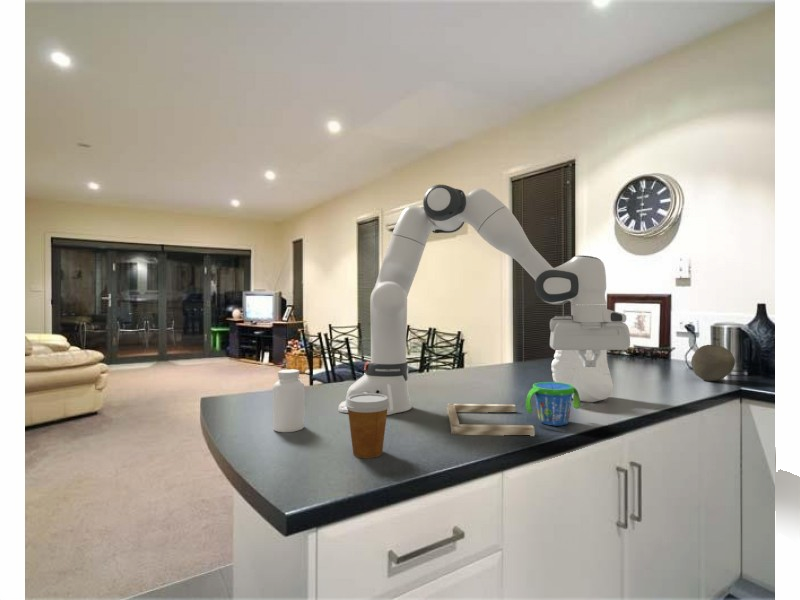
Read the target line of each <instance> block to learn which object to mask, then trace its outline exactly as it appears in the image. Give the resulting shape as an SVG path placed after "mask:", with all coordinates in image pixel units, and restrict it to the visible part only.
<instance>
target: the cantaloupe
mask: <svg viewBox="0 0 800 600" xmlns="http://www.w3.org/2000/svg"><path fill="white" fill-rule="evenodd" d="M690 362H691V364H690V365H691V367H692V371H693V373H694V374H695V375H696V377H698V378H699V379H702V380H704V381H706V382H716V381H720V380H722V379H724V378H726V377H727V376H728V375H729V374H731V373H732V371H733V370H734V368H735V365H736V359H735V357H734V354H733V353H732V352H731V351H730V350H729V349H727V348H726V347H724V346H722V345H717V344H705V345H702V346H700V347H699V348H697V349H696V350H695V352H694V353H693V355H692V357H691V361H690Z"/></svg>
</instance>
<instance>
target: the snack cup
mask: <svg viewBox="0 0 800 600" xmlns="http://www.w3.org/2000/svg"><path fill="white" fill-rule="evenodd" d="M572 394H573V398H572ZM533 396H534V397H535V406H536V410H537V411H536V412H537V417H538V420H539V422H540V423H541V424H544V425H548V426H551V425H553V426H552V427H559V426H561V427H562V426H565V425H568V423H569V420H570V413H571V406H572V407H573V409H574V408H575V409H576V410H577V409H580V407H581V401H580V398H579V394H578V391H577V390H576V389H575V388H574V387H573V386H572V385H569V384H565V383H558V382H554V381H540V382H534V383H533V384H532V388H530V390H529V391H528V393H527V395H526V400H525V409H526V411H527V412H528V413H533V408H532V407H533V406H532V401H531V400H532V397H533ZM572 400H573V401H572Z"/></svg>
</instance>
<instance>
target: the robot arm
mask: <svg viewBox="0 0 800 600" xmlns="http://www.w3.org/2000/svg"><path fill="white" fill-rule="evenodd" d="M422 201H423V203H422V205H423V206H415V205H412V206H411V205H410V206H406V208H404V209H403V210H402V212H401V214H400V215H399V217H398V219H397V222H396V223H395V225H394V228H393V231H392V233H391V236H390V240H389V241H388V244H387V245H388V246H387V248H386V250H385V253H384V257H383V260H382V263H381V267H380V269H379V272H378V276H377V278H376V282H375V285H374V287H373V289H372V291H371V293H370V297H369V299H370V301H369V303H370V304H369V305H370V306H369V310H370V311H369V312H370V318H369V319H370V361H366V362H365V363H364V365H363V367H364V369H363V371H364V372H363V373H364V374H363V375H362V376H360V378H358V379H357V380H356V381H355V382H353V383H352V384H351V385H350V386H349V387H348V390H347V392H346V395H345V400H343V401H342V402H339V405H338V408H337V409H338V411H339V412H340V413H344V414H345V413H346V414H347V413H348V409H347V406H346V403H347V400H348V397H350V396H352V395H357V394H381V395H385V396H387V398H388V402H389V403H390V404H389V407H388V409H387V416H391V415H393V414H396V413H397V414H398V413H402V412H407V411H409V410H411V409H412V408H413V406H412V404H411V400H410V394H409V387H408V379H409V365H408V361H407V326H408V324H407V323H408V320H407V319H408V296H409V293H410V290H411V287H412V284H413V282H414V279H415V278H416V277H415V276H416V274H417V271H418V268H419V265H420V263H421V260H422V257H423V253H424V250H425V247H426V245H427V241H428V239H429V237H430V235H431V233H434V234H452V233H456V232H458V231H459V230H461V229H462V228H463V226H464V224H465V223H467V224H468V225H470V226H471V227H472V228H473V229H474V231H476V233H478V235H479V236H480V237H481V238H482V239H483V240H484V241H485V242H486V243H487V244H489V245H490V246H492V247H493V248H494V249H495V250H498V251H499V252H502V253H503V254H505V255H508V256H509V257H511V259H514V260H515V261H516V262H517V263H518V264H519V265H520V266H521V267H522V268H523V269H524V270H525V271H526V272H527V273H528V274H529V276H530V277H532V278H533V280H534V281H535V282H534V291H535V293H536V296H537V297H538V298H539V299H540V300H541V301H543V302H545V303H547V304H550V305H553V306H554V305H555V306H562V305H565V304H566V303H569V302H570V315H555V316H554V317H552V318H551V319H550V320H549V330H550V337H549V347H550V348H551V349H552V350H554V351H556V350H578V354H579V355H580V357H581V358H582V360H583V366H584V367H596V360H597V359H598V357H599V356H600V350H607V351H627V350H629V348H630V347H631V337H630V335H631V333H630V329H629V326H628V324H626V321H627V315H626V314H625V313H622V312H618V311H615V310H612V309H608V308H607V306H608V305H607V300H606V290H607V275H606V274H607V273H606V267H605V264H604V262H603V261H602V260H601V259H600V258H598V257H597V256H596V257H595V256H592V255H590V256H589V255H581V254H580V255H575V256H573V257H572V258H571V259H570V260H568V261H566V262H564V263H562V264H561V265H558V266H556V267H554V266H552V265H551V264H550V263H549V262H548V261H547V259H545V258H544V257H543V256H542V255H541V254H540V253H539V251H537V250H536V249H535V247H534V246H533V245H532V244H531V241H530V240H529V239H528V236H527V235H526V233H525V231H524V229H523V227H522V226H521V224H520V222H519V221H518V219H517V218H516V216H515V215H514V214H513V212H512V211H511V210H510V209H509V208H508V207H507V206H506V205H505V203H503V202H502V201H501V200H500V199H499V198H498V197H496V196H495V195H494V194H492V193H491V192H490V191H488V190H486V189H484V188H475V189H473V190H471V191H470V192H469V193H467V194H465V192H464V191H463V190H461V189H459V188H454V187H452V186H449V185H446V184H435V185H433V186H431V187H430V188H429V189H428V190H427V191H426V192H425V193H424V196H423V199H422ZM586 350H592V353H593V354H594V355H593V357H592V359H591V360H587V358H586V357H585V355H584V354H586Z"/></svg>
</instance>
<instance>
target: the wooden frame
mask: <svg viewBox="0 0 800 600" xmlns="http://www.w3.org/2000/svg"><path fill="white" fill-rule="evenodd" d="M446 410H447V411H448V412H447V416H448V423H449V426H450V431H451V435H453V436H455V435H456V436H457V435H458V436H465V435H466V436H504V435H530V436H529V437H535V427H534V425H532V424H531V425H529V424H523V425H522V424H460V421H459V417H458V414H457V413H488V412H517V411H516V405H515V404H505V403H501V404H497V403H494V404H492V403H447V405H446Z"/></svg>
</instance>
